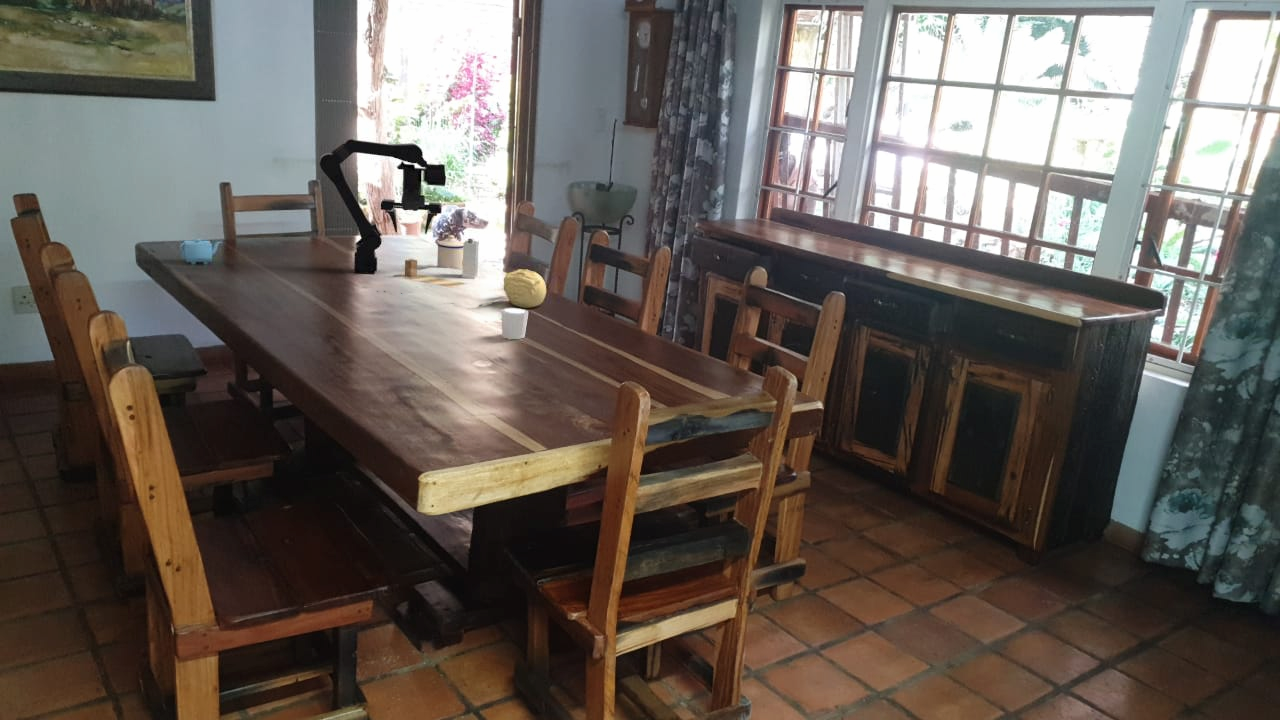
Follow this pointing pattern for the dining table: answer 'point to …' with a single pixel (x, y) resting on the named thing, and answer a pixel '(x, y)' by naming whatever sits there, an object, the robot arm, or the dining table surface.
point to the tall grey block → (470, 259)
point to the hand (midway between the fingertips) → (411, 233)
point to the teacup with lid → (450, 253)
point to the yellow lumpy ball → (524, 288)
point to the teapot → (198, 251)
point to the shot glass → (514, 322)
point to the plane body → (412, 275)
